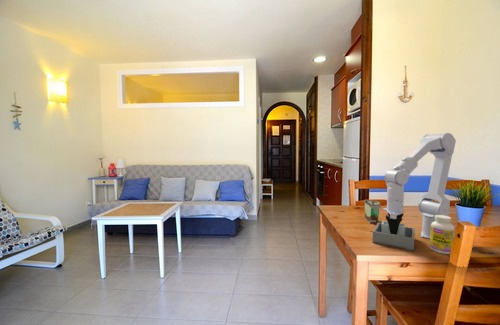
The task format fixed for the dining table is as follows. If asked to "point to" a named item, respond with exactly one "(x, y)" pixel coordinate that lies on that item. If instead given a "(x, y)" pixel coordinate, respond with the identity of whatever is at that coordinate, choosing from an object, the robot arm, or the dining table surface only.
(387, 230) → the small crate
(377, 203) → the food container
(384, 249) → the dining table surface
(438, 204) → the robot arm
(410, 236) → the big crate
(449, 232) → the supplement bottle
